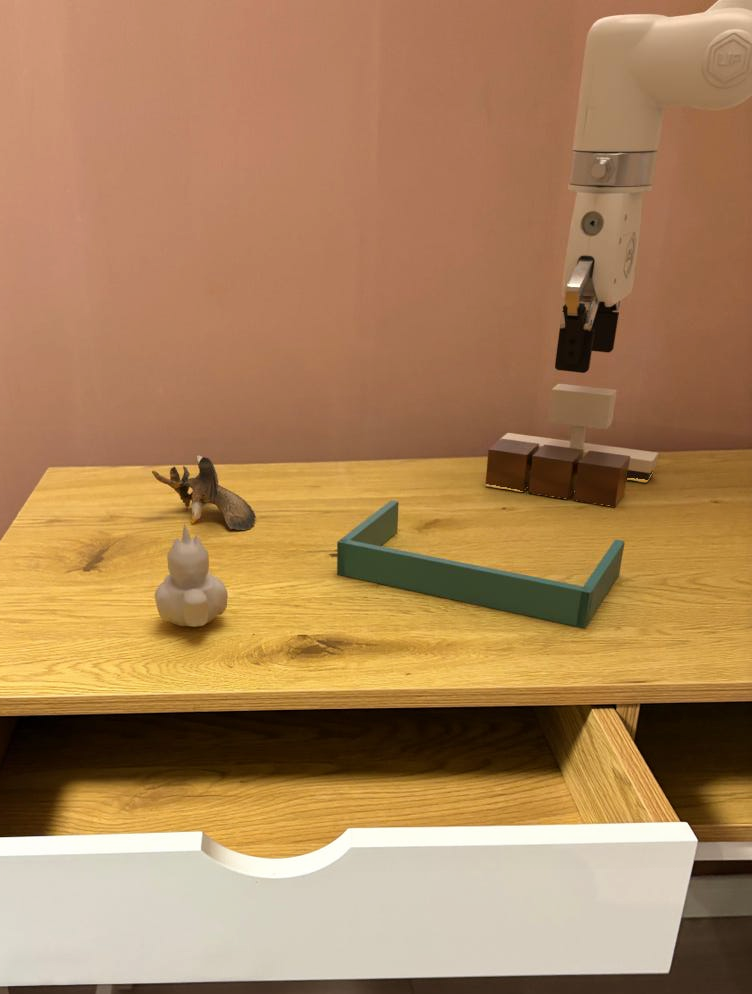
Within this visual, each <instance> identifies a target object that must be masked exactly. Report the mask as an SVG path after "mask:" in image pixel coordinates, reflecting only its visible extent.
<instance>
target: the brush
mask: <svg viewBox="0 0 752 994" xmlns="http://www.w3.org/2000/svg"><path fill="white" fill-rule="evenodd" d="M617 392H618V390H617V389H613V388H603V387H596V386H595V387H594V386H585V385H575V384H566V383H557V384H556V385H555V386H554V387H552V389H551V391H550V401H549V402H550V403H549V409H548V418H547V420H548V421H547V423H550V424H559V425H566V426H571V432H570V440H565V439H559V438H558V439H556V438H551V437H543V436H535V435H527V434H519V433H512V432H506V433H505V434H504V435H503V436H502V437H501V438H500V439H508V440H516V441H523V442H530V443H538V444H539V449H540V448H541V447H542V446H543V445H552V446H559V447H567V448H574V449H582V450H584V452H583V457H584V456H585V455H586V453H587V452H588V451H597V452H604V453H612V454H619V455H626V456H630V462H629V468H628V474H627V478H635V479H636V478H638V479H645V480H648V479H649V477H650V475H651V474H652V472H653V473H654V469H655V467H656V466H657V463H658V458H659V452H657V451H649V450H643V449H641V450H640V449H633V448H628V447H627V448H626V447H619V446H611V445H610V446H609V445H603V444H597V443H589V442H585V441H586V440H585V439H586V433H587V428H590V429H600V430H607V429H608V428H609V427H610V426H611V425H612V424H613V418H614V413H615V405H616V399H617ZM652 475H653V474H652Z"/></svg>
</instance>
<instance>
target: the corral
mask: <svg viewBox="0 0 752 994" xmlns="http://www.w3.org/2000/svg"><path fill="white" fill-rule="evenodd" d="M399 503H400V502H399V501H398V500H397V501H396V500H389V501H388V502H387V503H386V504H384V505H382V507H380V508H379V509H377V510H376V511H375V512H374V513H373V514H371V515H369V516H368V518H366V519H365V520H363V521H362V522H361V523H359V524H358V525H357V526H355V527H354V528H353V529H352V530H350V531H349V532H348V533H347V534H345V535H344V536H343V537H341V538H340V539H339V540H338V541H337V547H336V557H337V558H336V575H337V576H344V577H348V578H353V579H356V580H360V581H361V580H362V581H366V582H371V583H375V584H379V585H385V586H388V587H394V588H398V589H402V590H408V591H411V592H417V593H421V594H426V595H430V596H436V597H439V598H444V599H449V600H454V601H457V602H463V603H468V604H472V605H477V606H480V607H481V606H482V607H486V608H490V609H491V608H492V609H494V610H499V611H504V612H509V613H513V614H518V615H522V616H526V617H532V618H537V619H540V620H546V621H550V622H554V623H560V624H563V625H569V626H573V627H577V628H583V629H587V626H588V625H589V623H590V622H591V620H592V619H593V617H594V615H595V613H596V612H597V610H598V609H599V607H601V604H602V602H603V601H604V600H605V598H606V596H607V594H608V593H609V591H610V590H611V588H612V587H613V585H614V583H615V581H616V580H617V579H618V576H620V573H621V567H622V561H623V555H624V548H625V543H626V542H625V540H621V539H614V540H613V542H612V543H611V544H610V546H609V548H608V549H607V551H606V552H605V554H604V555H603V557H602V558H601V559H600V561H599V563H597V565H596V567H595V568H594V570H593V571H592V573H591V574H590V576H589V577H588V578H587V580H586V582H585V583H584V584H583V585H579V584H573V583H567V582H562V581H558V580H553V579H548V578H542V577H537V576H533V575H527V574H522V573H517V572H512V571H508V570H502V569H497V568H493V567H487V566H482V565H478V564H473V563H466V562H461V561H458V560H451V559H447V558H442V557H437V556H432V555H427V554H422V553H417V552H412V551H406V550H402V549H396V548H391V547H387V546H383V545H384V544H385V543H386V542H388V541H389V540H390V539H391V538H392V537H393V536H394V535H396V534H397V533H398V526H399V505H400V504H399Z"/></svg>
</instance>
